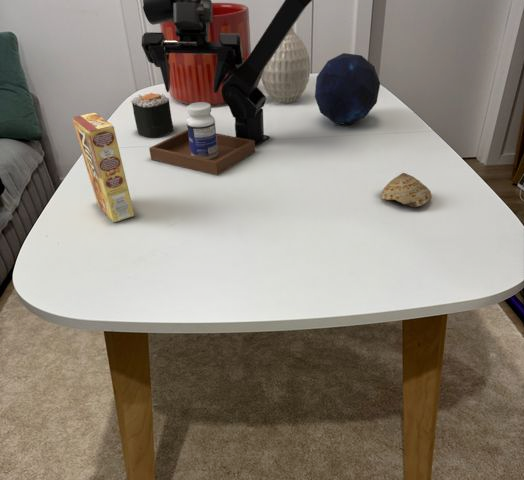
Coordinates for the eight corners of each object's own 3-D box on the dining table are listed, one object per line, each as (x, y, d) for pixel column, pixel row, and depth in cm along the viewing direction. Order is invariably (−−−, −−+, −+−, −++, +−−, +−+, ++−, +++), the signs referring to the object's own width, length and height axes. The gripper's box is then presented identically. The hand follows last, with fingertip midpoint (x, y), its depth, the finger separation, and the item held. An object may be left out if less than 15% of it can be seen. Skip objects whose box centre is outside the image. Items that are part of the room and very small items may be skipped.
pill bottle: (191, 151, 109) (184, 102, 102) (218, 150, 109) (213, 100, 102) (190, 162, 105) (184, 110, 98) (218, 160, 105) (213, 108, 98)
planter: (243, 108, 132) (237, 16, 118) (159, 107, 135) (144, 18, 122) (259, 84, 149) (256, 1, 135) (184, 84, 152) (174, 3, 139)
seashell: (408, 204, 83) (381, 170, 85) (395, 228, 88) (370, 195, 90) (446, 192, 85) (419, 160, 88) (431, 216, 90) (406, 184, 93)
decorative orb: (349, 115, 108) (377, 42, 105) (293, 103, 116) (318, 35, 113) (373, 140, 120) (399, 76, 117) (321, 128, 128) (344, 68, 125)
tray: (191, 139, 116) (190, 128, 114) (255, 152, 108) (254, 140, 107) (151, 159, 108) (149, 147, 106) (217, 175, 100) (216, 162, 98)
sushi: (157, 123, 125) (151, 88, 120) (180, 130, 121) (174, 94, 116) (131, 133, 121) (124, 97, 116) (153, 140, 117) (147, 103, 111)
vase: (310, 106, 131) (312, 31, 120) (261, 108, 131) (258, 33, 120) (308, 92, 141) (309, 21, 130) (261, 94, 141) (259, 23, 130)
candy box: (136, 216, 88) (115, 124, 78) (112, 223, 86) (88, 130, 76) (117, 199, 94) (95, 111, 84) (95, 205, 92) (70, 116, 82)
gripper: (135, -20, 90) (130, 65, 90) (239, -20, 90) (235, 66, 89) (151, 23, 102) (147, 99, 101) (244, 24, 101) (240, 101, 100)
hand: (191, 91), depth 97 cm, fingers open, 9 cm apart
